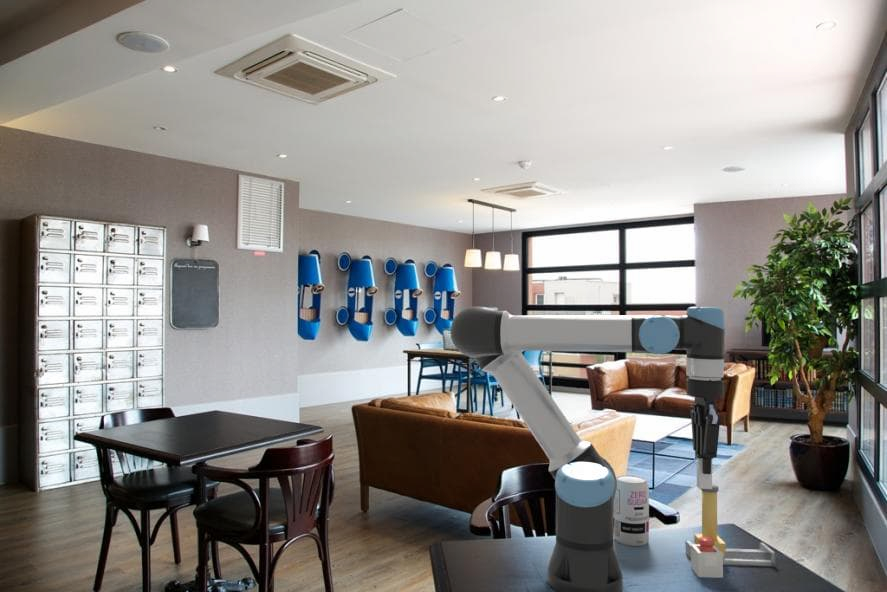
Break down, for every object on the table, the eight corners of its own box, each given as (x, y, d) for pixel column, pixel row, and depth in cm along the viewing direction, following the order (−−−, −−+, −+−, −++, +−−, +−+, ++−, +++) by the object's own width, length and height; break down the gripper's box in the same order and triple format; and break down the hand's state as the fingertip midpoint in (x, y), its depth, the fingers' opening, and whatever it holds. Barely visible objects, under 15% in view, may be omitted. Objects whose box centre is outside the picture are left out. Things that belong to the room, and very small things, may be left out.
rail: (694, 563, 139) (693, 550, 139) (685, 553, 145) (685, 540, 145) (775, 566, 137) (775, 552, 137) (763, 555, 143) (763, 542, 143)
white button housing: (698, 577, 131) (698, 553, 132) (690, 567, 137) (690, 544, 137) (723, 578, 131) (723, 554, 131) (714, 568, 136) (714, 544, 136)
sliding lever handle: (702, 557, 139) (702, 489, 139) (694, 547, 144) (694, 482, 145) (725, 558, 138) (725, 489, 139) (716, 548, 144) (716, 483, 144)
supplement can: (626, 532, 158) (626, 473, 158) (655, 542, 152) (655, 480, 152) (606, 539, 153) (606, 478, 153) (635, 549, 147) (635, 485, 147)
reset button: (701, 564, 133) (701, 542, 133) (696, 558, 136) (696, 536, 136) (716, 565, 132) (716, 542, 132) (711, 559, 136) (711, 537, 136)
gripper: (734, 382, 128) (734, 497, 128) (712, 375, 141) (711, 480, 141) (697, 381, 129) (696, 496, 128) (678, 374, 142) (677, 478, 141)
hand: (704, 487), depth 135 cm, fingers closed
